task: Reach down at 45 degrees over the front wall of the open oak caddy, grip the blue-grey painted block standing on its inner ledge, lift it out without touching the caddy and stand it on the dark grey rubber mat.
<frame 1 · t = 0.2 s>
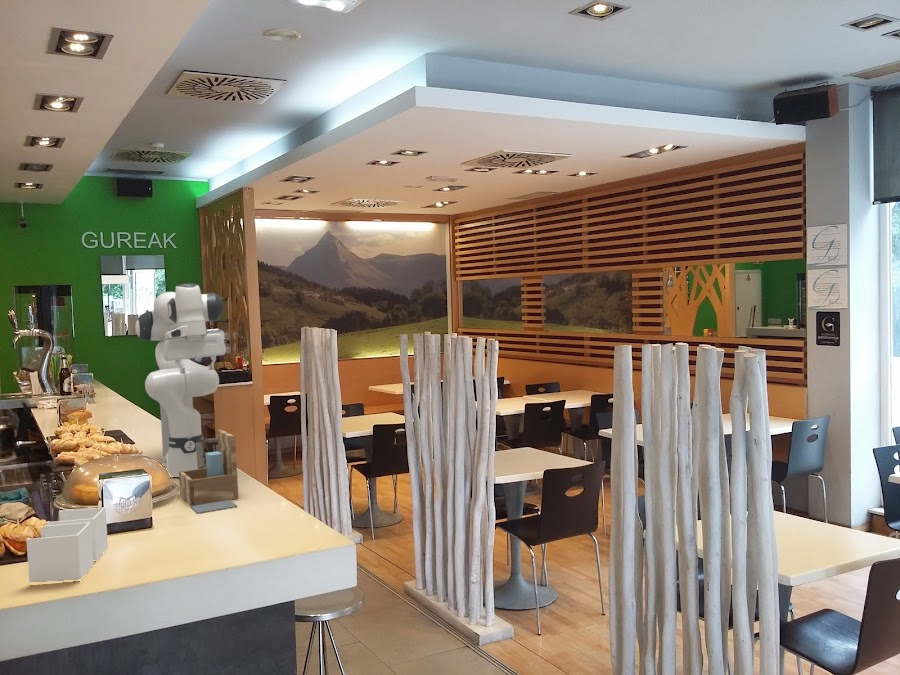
hand: (197, 371, 274), 39 cm above the worktop, tool pointing down, fingers open, 8 cm apart
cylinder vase: (179, 458, 328), on the worktop
mat: (214, 507, 247), on the worktop
block: (215, 484, 261), point 4 cm above the worktop, touching caddy
grey brown upright frame: (214, 487, 274), on the worktop
caddy: (208, 497, 260), on the worktop
white twin bins: (71, 567, 197), on the worktop
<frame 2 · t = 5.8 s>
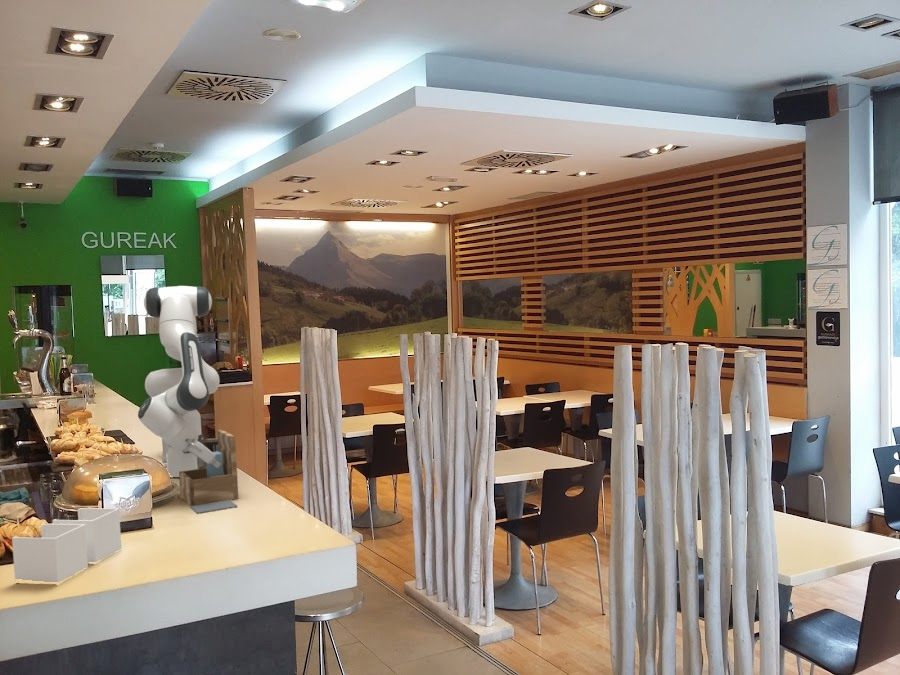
hand: (216, 464, 261), 10 cm above the worktop, tool tilted 45°, fingers closed on block, 5 cm apart
block: (215, 484, 261), point 4 cm above the worktop, touching caddy, gripper
when the fingers open (9 cm above the worktop, at t = 11.7 s): block drops 2 cm, resting on mat.
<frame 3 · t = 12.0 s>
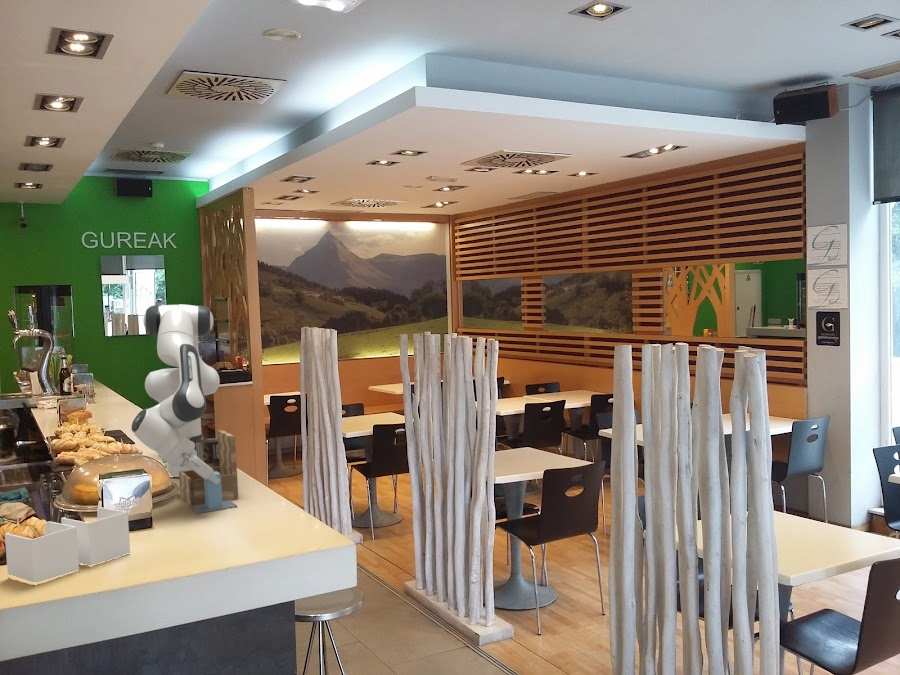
hand: (214, 479, 247), 9 cm above the worktop, tool tilted 45°, fingers open, 8 cm apart
block: (213, 505, 247), resting on mat
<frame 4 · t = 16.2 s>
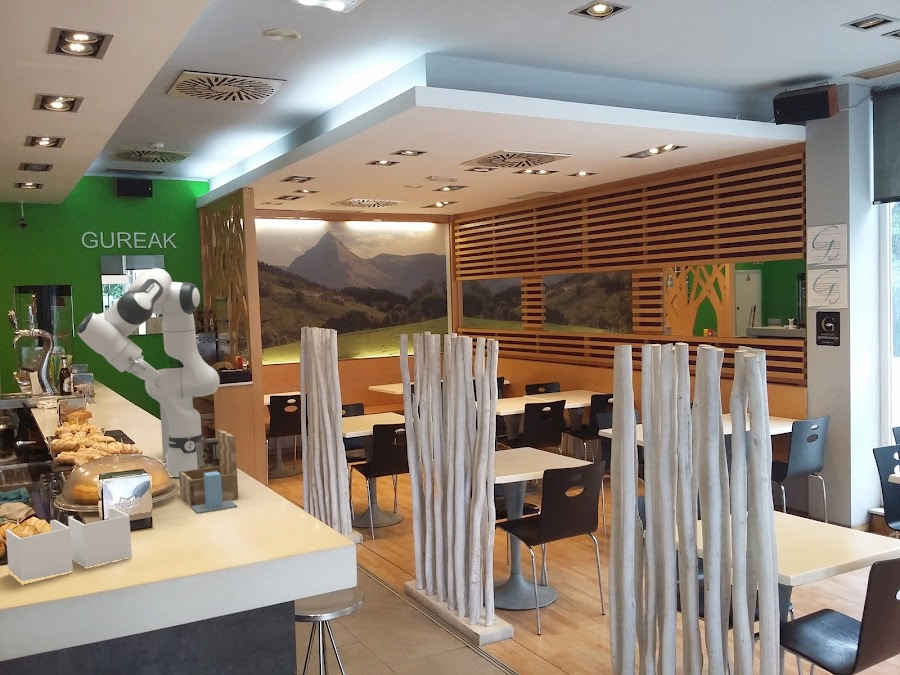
hand: (163, 387, 245), 37 cm above the worktop, tool tilted 45°, fingers open, 8 cm apart
at the end: block inside the target area on the mat (0.1 cm from its centre), point 0.4 cm above the mat's base; block tilted 0°; block touching mat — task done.
